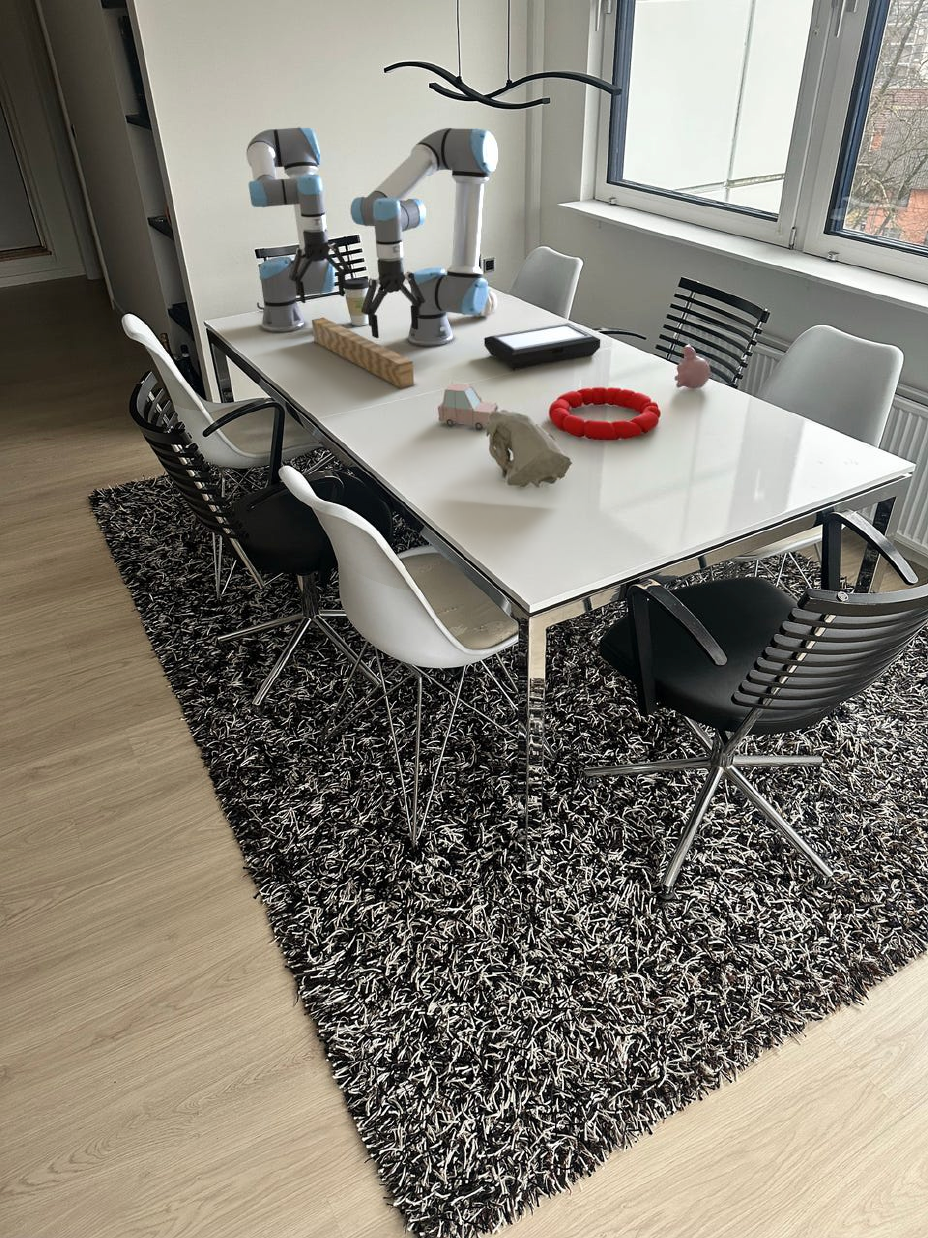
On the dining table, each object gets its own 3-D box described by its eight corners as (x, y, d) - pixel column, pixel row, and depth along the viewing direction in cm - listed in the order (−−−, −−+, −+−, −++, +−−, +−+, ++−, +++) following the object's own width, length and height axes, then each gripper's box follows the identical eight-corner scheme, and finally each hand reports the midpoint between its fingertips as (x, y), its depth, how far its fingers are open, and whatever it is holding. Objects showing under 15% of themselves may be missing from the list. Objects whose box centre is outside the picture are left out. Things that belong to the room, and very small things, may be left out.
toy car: (488, 432, 240) (488, 396, 234) (436, 426, 244) (434, 390, 239) (499, 419, 247) (499, 384, 241) (448, 413, 252) (447, 379, 246)
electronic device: (511, 352, 275) (484, 335, 290) (511, 372, 278) (484, 354, 294) (600, 336, 285) (569, 321, 300) (599, 356, 289) (569, 339, 304)
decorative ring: (589, 435, 224) (684, 402, 234) (527, 398, 247) (617, 369, 256) (589, 461, 229) (683, 427, 238) (529, 422, 251) (617, 393, 260)
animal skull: (496, 517, 219) (521, 479, 201) (463, 429, 225) (484, 384, 207) (557, 503, 225) (586, 465, 206) (523, 417, 231) (549, 373, 212)
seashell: (458, 316, 331) (457, 288, 325) (493, 309, 336) (492, 282, 331) (471, 322, 323) (471, 294, 318) (507, 316, 329) (507, 288, 323)
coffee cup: (372, 326, 323) (368, 283, 314) (345, 327, 323) (340, 284, 315) (374, 318, 331) (371, 276, 322) (348, 319, 331) (344, 277, 323)
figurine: (665, 387, 264) (669, 347, 257) (693, 380, 268) (698, 340, 261) (686, 396, 257) (690, 355, 250) (714, 388, 262) (720, 348, 255)
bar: (314, 341, 311) (311, 319, 307) (325, 338, 313) (323, 317, 309) (401, 388, 270) (399, 364, 266) (413, 385, 272) (412, 361, 268)
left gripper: (280, 236, 273) (290, 307, 285) (356, 226, 282) (362, 295, 294) (272, 232, 278) (282, 301, 290) (347, 222, 287) (353, 290, 300)
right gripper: (357, 267, 247) (364, 343, 259) (434, 253, 257) (437, 327, 270) (345, 262, 252) (352, 337, 264) (421, 249, 263) (424, 322, 275)
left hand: (322, 298), depth 292 cm, fingers open, 13 cm apart
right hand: (395, 332), depth 267 cm, fingers open, 13 cm apart
